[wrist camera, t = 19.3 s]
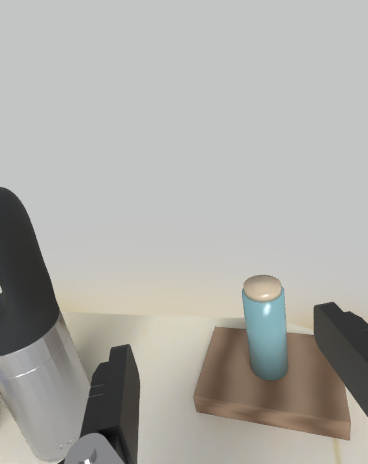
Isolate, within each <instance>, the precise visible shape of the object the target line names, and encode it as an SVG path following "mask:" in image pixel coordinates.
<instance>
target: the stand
mask: <svg viewBox="0 0 368 464" xmlns="http://www.w3.org/2000/svg"><path fill="white" fill-rule="evenodd" d="M287 350H288V372H287V374H286V375H285V376H284V377H282V378H281V379H278V380H264V379H261V378H259V377H258V376H256V375H255V374H254V373H253V371H252V369H251V365H250V356H249V348H248V340H247V331H246V329H235V328H223V327H215V329H214V332H213V336H212V339H211V342H210V345H209V348H208V351H207V355H206V358H205V361H204V364H203V367H202V370H201V374H200V377H199V380H198V383H197V386H196V389H195V393H194V401H195V405H196V410H197V412H201V413H206V414H211V415H217V416H222V417H227V418H233V419H238V420H243V421H249V422H254V423H259V424H265V425H270V426H275V427H281V428H286V429H291V430H297V431H302V432H308V433H313V434H318V435H324V436H329V437H334V438H340V439H345V440H350V428H351V421H350V415H349V409H348V403H347V398H346V392H345V386H344V383H343V381H342V380H341V379H340V377H339V376H338V374H337V373H336V372H335V370H334V369H333V367H332V366H331V365H330V363H329V362H328V360H327V359H326V357H325V356H324V355H323V353H322V352H321V350H320V349H319V347H318V346H317V343H316V341H315V337H314V335H307V334H295V333H287Z"/></svg>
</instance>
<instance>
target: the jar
mask: <svg viewBox="0 0 368 464" xmlns="http://www.w3.org/2000/svg"><path fill="white" fill-rule="evenodd" d="M242 298H243V306H244V315H245V323H246V331H247V340H248V348H249V356H250V365H251V369H252V371H253V373H254V374H255V375H256V376H258V377H259V378H261V379H264V380H278V379H281V378H282V377H284V376H285V375H286V374H287V372H288V350H287V332H286V315H285V297H284V289H283V287H282V286H281V282H280V281H279V280H278V279H277V278H275V277H273V276H269V275H258V276H253V277H251V278H249V279H247V280H246V281H245V283H244V288H243V290H242Z"/></svg>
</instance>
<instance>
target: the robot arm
mask: <svg viewBox="0 0 368 464" xmlns="http://www.w3.org/2000/svg"><path fill="white" fill-rule="evenodd" d="M0 286H1V288H2V293H1V294H0V395H1V397H2V399H3V401H4V402H5V404H6V406H7V408H8V409H9V411H10V413H11V415H12V416H13V418H14V420H15V422H16V423H17V425H18V427H19V429H20V430H21V432H22V434H23V436H24V438H25V439H26V441H27V443H28V445H29V446H30V448H31V450H32V452H33V453H34V454H35V456H36V457H38V458H39V459H41V460H45V461H56V460H60V459H63V458H65V457H66V458H65V459H64V460H62V461H61V462H60V463H58V464H137V451H138V425H139V398H140V379H139V372H138V369H137V365H136V362H135V359H134V356H133V353H132V349H131V346H130V345H129V344H126V345H122V346H117V347H112V348H111V350H110V356H109V362H104V363H100V364H99V366H98V368H97V369H96V371H95V372H94V374H93V377H92V382H91V385H90V383H89V380H88V378H87V375H86V373H85V370H84V368H83V365H82V363H81V360H80V358H79V355H78V353H77V351H76V348H75V346H74V343H73V341H72V338H71V336H70V333H69V331H68V329H67V326H66V324H65V321H64V319H63V316H62V314H61V311H60V309H59V306H58V304H57V301H56V298H55V294H54V291H53V286H52V283H51V279H50V276H49V274H48V271H47V268H46V266H45V263H44V260H43V257H42V254H41V251H40V248H39V245H38V242H37V239H36V235H35V232H34V229H33V226H32V224H31V221H30V218H29V216H28V214H27V211H26V209H25V207H24V206H23V204H22V203H21V201H20V200H19V198H18V197H17V196H16V195H15V194H14V193H12V192H11V191H10V190H8V189H6V188H2V187H0ZM314 337H315V341H316V343H317V346H318V347H319V349H320V350H321V352H322V353H323V355H324V356H325V357H326V359H327V360H328V362H329V363H330V365H331V366H332V367H333V369H334V370H335V372H336V373H337V374H338V376H339V377H340V379H341V380H342V381H343V383H344V384H345V386H346V387H347V389H348V390H349V391H350V393H351V394H352V396H353V397H354V398H355V400H356V401H357V403H358V404H359V405H360V407H361V408H362V410H363V411H364V413H365V414H366V415H367V417H368V324H367V323H366V322H365V321H364V320H363V319H362V318H361V317H359V316H357V315H355V314H353V313H351V312H350V311H349V312H343V311H342V310H341V309H340V308H339V307H338V306H337V305H336V304H335V303H334V302H329V303H324V304H320V305H315V306H314Z"/></svg>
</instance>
